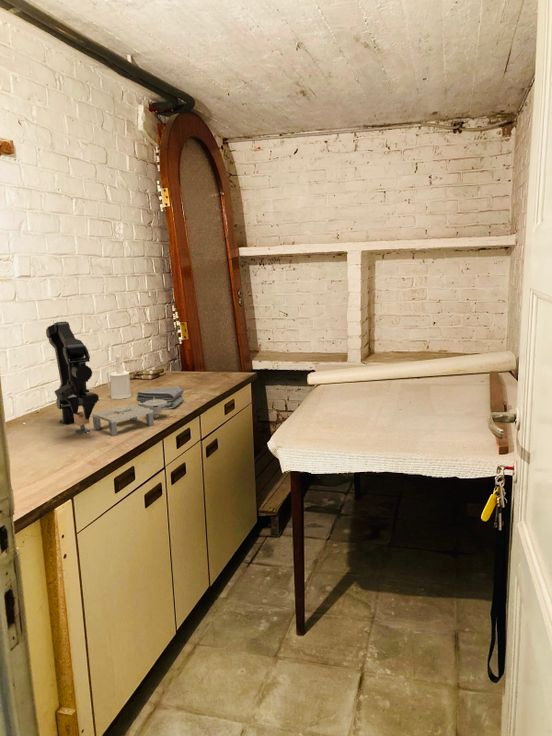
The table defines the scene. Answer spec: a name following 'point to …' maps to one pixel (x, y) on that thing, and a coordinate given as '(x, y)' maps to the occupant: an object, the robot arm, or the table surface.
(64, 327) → the robot arm
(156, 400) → the showerhead
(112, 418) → the keyhole stand
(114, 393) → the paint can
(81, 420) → the peg
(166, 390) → the towel
